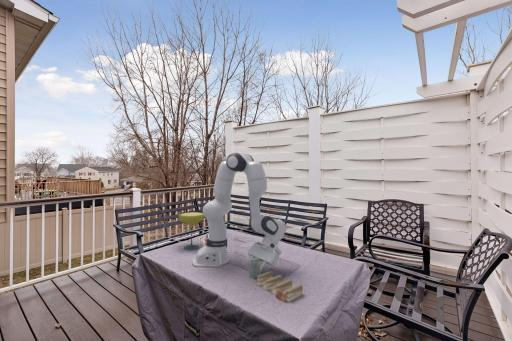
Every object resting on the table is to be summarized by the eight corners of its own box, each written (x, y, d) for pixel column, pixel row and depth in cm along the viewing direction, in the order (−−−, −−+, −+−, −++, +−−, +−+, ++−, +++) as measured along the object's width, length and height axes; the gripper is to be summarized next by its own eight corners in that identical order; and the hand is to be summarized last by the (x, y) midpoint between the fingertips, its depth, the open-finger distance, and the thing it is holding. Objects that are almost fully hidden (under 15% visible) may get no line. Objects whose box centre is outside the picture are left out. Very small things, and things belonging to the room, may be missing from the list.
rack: (255, 285, 126) (255, 276, 126) (270, 279, 134) (271, 270, 134) (286, 303, 110) (286, 293, 110) (302, 294, 118) (302, 285, 118)
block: (249, 277, 136) (250, 259, 135) (258, 274, 140) (258, 256, 139) (253, 279, 133) (253, 260, 133) (261, 276, 137) (262, 257, 137)
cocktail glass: (176, 245, 187) (177, 212, 186) (201, 242, 194) (201, 210, 194) (180, 253, 170) (180, 216, 170) (206, 249, 178) (207, 214, 177)
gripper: (253, 238, 148) (240, 258, 142) (278, 247, 133) (265, 270, 127) (258, 244, 151) (246, 264, 145) (284, 253, 136) (271, 276, 130)
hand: (255, 267), depth 136 cm, fingers open, 6 cm apart
